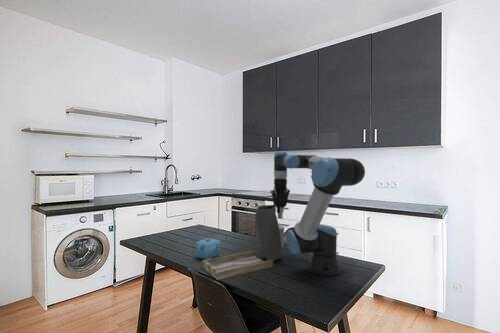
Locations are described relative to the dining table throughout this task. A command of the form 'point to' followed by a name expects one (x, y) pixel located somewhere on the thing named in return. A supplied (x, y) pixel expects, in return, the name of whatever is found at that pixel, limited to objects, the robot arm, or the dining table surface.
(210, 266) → the tray
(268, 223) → the vase
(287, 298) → the dining table surface
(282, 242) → the grey cylinder
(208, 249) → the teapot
